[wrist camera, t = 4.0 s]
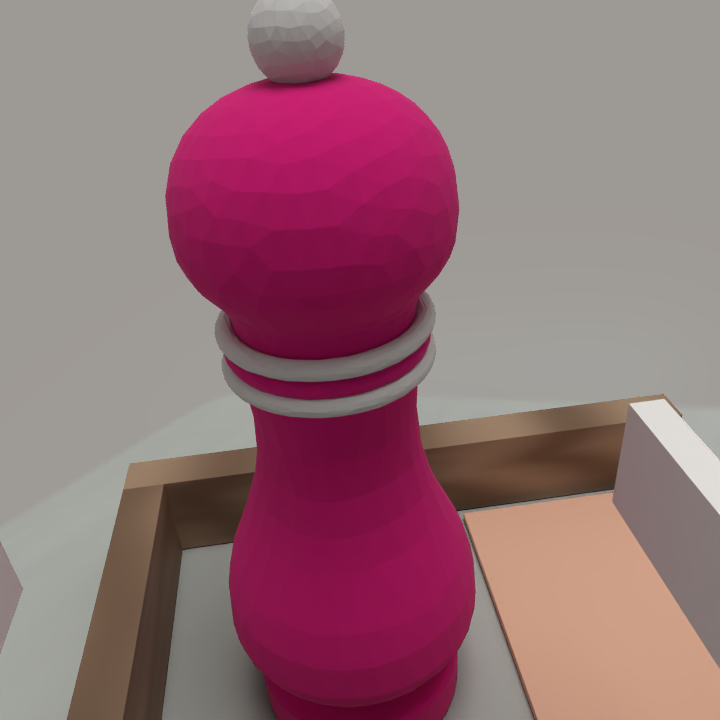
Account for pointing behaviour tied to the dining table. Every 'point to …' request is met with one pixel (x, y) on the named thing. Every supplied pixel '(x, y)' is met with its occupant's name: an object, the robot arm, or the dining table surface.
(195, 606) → the dining table surface
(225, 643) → the dining table surface
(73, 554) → the dining table surface
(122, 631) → the shallow wooden tray
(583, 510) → the front pad
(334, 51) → the pepper mill
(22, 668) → the dining table surface
